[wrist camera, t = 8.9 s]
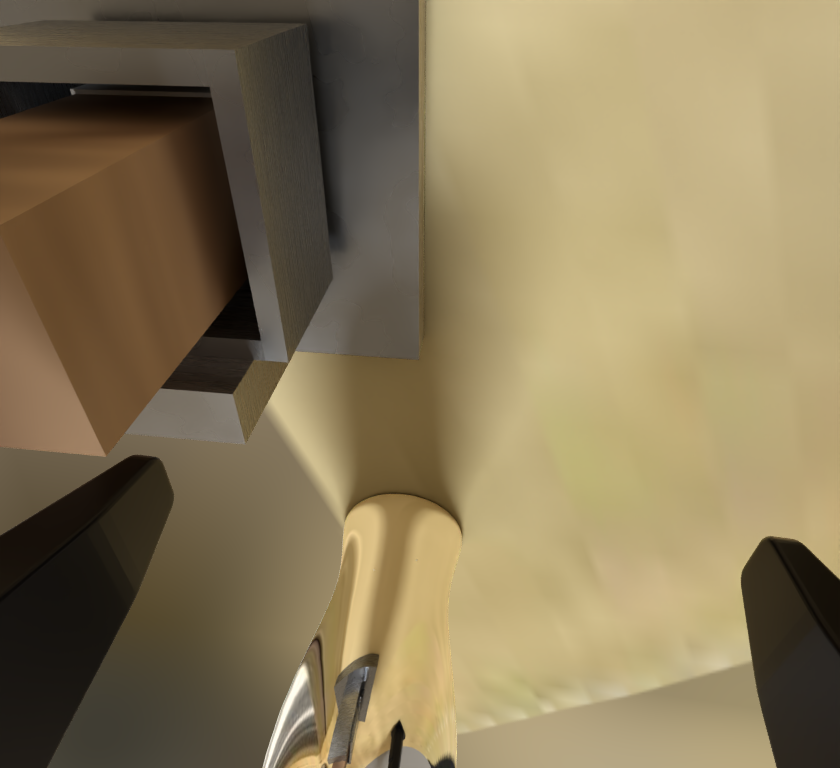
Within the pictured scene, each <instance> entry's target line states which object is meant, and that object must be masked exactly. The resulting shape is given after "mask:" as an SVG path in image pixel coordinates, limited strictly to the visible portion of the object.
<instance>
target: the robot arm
mask: <svg viewBox="0 0 840 768" xmlns="http://www.w3.org/2000/svg"><path fill="white" fill-rule="evenodd" d="M173 501H174V493H173V489H172V486H171V483H170V481H169V478H168V476H167V473H166V470H165V467H164V465H163V462H162V461H161V460H160V459H159V458H157V457H152V456H143V455H132V456H130V457H128V458H126V459H124V460H123V461H121V462H119V463H118V464H116V465H114V466H113V467H111V468H110V469H108V470H106V471H105V472H103V473H101V474H100V475H98V476H97V477H95V478H93V479H92V480H90V481H88V482H87V483H85V484H83V485H82V486H80V487H79V488H77V489H75V490H74V491H72V492H71V493H69V494H67V495H65V496H64V497H62V498H61V499H59V500H57V501H56V502H54V503H52V504H51V505H49V506H48V507H46V508H44V509H43V510H41V511H39V512H38V513H36V514H34V515H33V516H31V517H30V518H28V519H26V520H25V521H23V522H21V523H20V524H18V525H17V526H15V527H13V528H12V529H10V530H8V531H7V532H5V533H3V534H2V535H0V768H47V767H48V765H49V764H50V762H51V760H52V758H53V756H54V754H55V752H56V750H57V748H58V746H59V744H60V742H61V740H62V738H63V737H64V734H65V733H66V731H67V729H68V727H69V725H70V723H71V721H72V719H73V717H74V716H75V713H76V712H77V710H78V708H79V706H80V704H81V702H82V700H83V698H84V696H85V694H86V692H87V690H88V688H89V687H90V685H91V683H92V681H93V679H94V677H95V675H96V673H97V671H98V669H99V667H100V666H101V664H102V662H103V660H104V658H105V656H106V654H107V652H108V650H109V648H110V646H111V644H112V643H113V640H114V639H115V637H116V635H117V633H118V631H119V629H120V627H121V625H122V623H123V621H124V619H125V618H126V616H127V614H128V612H129V610H130V608H131V606H132V604H133V602H134V600H135V598H136V595H137V593H138V591H139V589H140V586H141V584H142V582H143V579H144V577H145V574H146V572H147V569H148V567H149V564H150V562H151V559H152V556H153V554H154V552H155V549H156V546H157V544H158V541H159V539H160V536H161V534H162V531H163V529H164V526H165V524H166V521H167V518H168V516H169V513H170V511H171V508H172V505H173ZM741 588H742V595H743V602H744V609H745V615H746V622H747V629H748V636H749V643H750V649H751V656H752V663H753V670H754V676H755V681H756V687H757V692H758V697H759V701H760V705H761V709H762V713H763V717H764V721H765V725H766V729H767V732H768V736H769V740H770V744H771V748H772V752H773V755H774V759H775V763H776V767H777V768H840V579H839V578H838V577H837V576H836V575H835V574H834V573H832V572H831V571H830V570H829V569H828V568H827V567H826V566H825V565H824V564H823V563H822V562H821V561H820V560H819V559H818V558H817V557H816V556H815V555H814V554H813V553H812V552H811V551H810V550H809V549H808V548H807V547H806V546H805V545H803V544H802V543H801V542H799V541H797V540H794V539H788V538H781V537H773V536H768V537H766V538H764V539H762V540H761V542H760V543H759V545H758V546H757V548H756V549H755V551H754V553H753V554H752V556H751V557H750V559H749V560H748V562H747V563H746V565H745V567H744V569H743V571H742V575H741Z"/></svg>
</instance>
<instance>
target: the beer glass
mask: <svg viewBox="0 0 840 768" xmlns="http://www.w3.org/2000/svg"><path fill="white" fill-rule="evenodd" d="M461 546H462V534H461V530H460V527H459V525H458V524H457V522H456V520H455V519H454V518H453V517H452V516H451V515H450V514H449V513H448V512H447V511H446V510H444V509H443V508H442V507H440V506H438V505H437V504H435V503H433V502H431V501H428V500H426V499H423V498H420V497H417V496H412V495H406V494H382V495H377V496H373V497H370V498H367V499H365V500H363V501H361V502H360V503H358V504H357V505H355V506H354V507H353V508H352V509H351V511H350V512H349V514H348V516H347V518H346V520H345V524H344V532H343V546H342V561H341V568H340V573H339V577H338V581H337V584H336V587H335V590H334V593H333V596H332V598H331V600H330V603H329V605H328V607H327V609H326V612H325V614H324V616H323V618H322V620H321V623H320V624H319V627H318V629H317V631H316V633H315V635H314V637H313V639H312V641H311V643H310V645H309V647H308V649H307V652H306V654H305V656H304V658H303V660H302V662H301V665H300V666H299V669H298V671H297V673H296V675H295V677H294V680H293V682H292V684H291V687H290V689H289V692H288V694H287V697H286V699H285V701H284V704H283V706H282V708H281V711H280V713H279V716H278V719H277V722H276V726H275V729H274V732H273V735H272V738H271V741H270V744H269V747H268V750H267V753H266V757H265V760H264V764H263V768H456V760H457V759H456V758H457V732H456V708H455V696H454V684H453V672H452V662H451V651H450V641H449V626H448V602H449V594H450V587H451V583H452V578H453V575H454V572H455V568H456V565H457V562H458V558H459V555H460V551H461Z"/></svg>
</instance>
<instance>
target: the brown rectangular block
mask: <svg viewBox="0 0 840 768" xmlns="http://www.w3.org/2000/svg"><path fill="white" fill-rule="evenodd" d="M70 91H71V94H72V95H70V96H67V97H64V98H61V99H58V100H55V101H52V102H49V103H46V104H43V105H40V106H37V107H34V108H31V109H28V110H25V111H22V112H19V113H16V114H13V115H10V116H7V117H4V118H1V119H0V447H9V448H19V449H30V450H40V451H51V452H62V453H73V454H83V455H95V456H107V454H108V453H109V452H110V451H111V450H112V448H113V447H114V446H115V445H116V443H117V442H118V441H119V440H120V438H121V437H122V436H123V435H124V433H125V432H126V431H127V430H128V428H129V427H130V426H131V424H132V423H133V422H134V421H135V419H136V418H137V417H138V416H139V414H140V413H141V412H142V411H143V409H144V408H145V407H146V406H147V404H148V403H149V402H150V401H151V399H152V398H153V397H154V396H155V394H156V393H157V392H158V390H159V389H160V388H161V387H162V385H163V384H164V383H165V382H166V380H167V379H168V378H169V377H170V375H171V374H172V373H173V372H174V370H175V369H176V368H177V367H178V365H179V364H180V363H181V362H182V360H183V359H184V358H185V356H186V355H187V354H188V353H189V351H190V350H191V349H192V348H193V346H194V345H195V344H196V343H197V341H198V340H199V339H200V338H201V336H202V335H203V334H204V333H205V331H206V330H207V329H208V328H209V326H210V325H211V324H212V322H213V321H214V320H215V319H216V317H217V316H218V315H219V314H220V312H221V311H222V310H223V309H224V307H225V306H226V305H227V304H228V302H229V301H230V300H231V299H232V297H233V296H234V295H235V294H236V292H237V291H238V290H239V288H240V287H241V286H242V285H243V283H244V282H245V281H246V280H247V278H248V273H247V268H246V263H245V258H244V253H243V248H242V243H241V238H240V233H239V228H238V224H237V219H236V214H235V209H234V204H233V199H232V194H231V189H230V184H229V179H228V174H227V169H226V164H225V160H224V155H223V150H222V145H221V140H220V135H219V130H218V125H217V120H216V115H215V110H214V105H213V101H212V96H211V91H210V87H203V86H163V85H123V84H85V85H81V86H78V87H75V88H72V89H70Z"/></svg>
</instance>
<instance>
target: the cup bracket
mask: <svg viewBox="0 0 840 768" xmlns="http://www.w3.org/2000/svg"><path fill="white" fill-rule="evenodd" d="M425 37H426V0H0V119H1V118H4V117H7V116H10V115H13V114H16V113H19V112H22V111H25V110H28V109H31V108H34V107H37V106H40V105H43V104H46V103H49V102H52V101H55V100H58V99H61V98H64V97H67V96H70V95H72V94H71V91H70V89H72V88H75V87H78V86H81V85H85V84H123V85H163V86H203V87H210V91H211V96H212V101H213V105H214V110H215V115H216V120H217V125H218V130H219V135H220V140H221V145H222V150H223V155H224V160H225V164H226V169H227V174H228V179H229V184H230V189H231V194H232V199H233V204H234V209H235V214H236V219H237V224H238V228H239V233H240V238H241V243H242V248H243V253H244V258H245V263H246V268H247V273H248V278H247V280H246V281H245V282H244V283H243V285H242V286H241V287H240V288H239V290H238V291H237V292H236V294H235V295H234V296H233V297H232V299H231V300H230V301H229V302H228V304H227V305H226V306H225V307H224V309H223V310H222V311H221V312H220V314H219V315H218V316H217V317H216V319H215V320H214V321H213V322H212V324H211V325H210V326H209V328H208V329H207V330H206V331H205V333H204V334H203V335H202V336H201V338H200V339H199V340H198V341H197V343H196V344H195V345H194V346H193V348H192V349H191V350H190V351H189V353H188V354H187V355H186V356H185V358H184V359H183V360H182V362H181V363H180V364H179V365H178V367H177V368H176V369H175V370H174V372H173V373H172V374H171V375H170V377H169V378H168V379H167V380H166V382H165V383H164V384H163V385H162V387H161V388H160V389H159V390H158V392H157V393H156V394H155V396H154V397H153V398H152V399H151V401H150V402H149V403H148V404H147V406H146V407H145V408H144V409H143V411H142V412H141V413H140V414H139V416H138V417H137V418H136V419H135V421H134V422H133V423H132V424H131V426H130V427H129V428H128V430H127V431H126V432H125V433H124V434H137V435H147V436H158V437H170V438H181V439H193V440H204V441H215V442H226V443H237V444H246V442H247V441H248V439H249V437H250V435H251V433H252V431H253V429H254V427H255V426H256V424H257V422H258V420H259V418H260V416H261V414H262V412H263V410H264V409H265V407H266V405H267V403H268V401H269V399H270V397H271V395H272V394H273V392H274V390H275V388H276V386H277V384H278V382H279V380H280V378H281V377H282V375H283V373H284V371H285V369H286V367H287V365H288V363H289V362H290V360H291V358H292V356H293V354H294V352H295V351H301V352H315V353H329V354H343V355H357V356H371V357H385V358H399V359H413V360H419V357H420V353H421V348H422V344H423V339H424V213H425Z"/></svg>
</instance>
